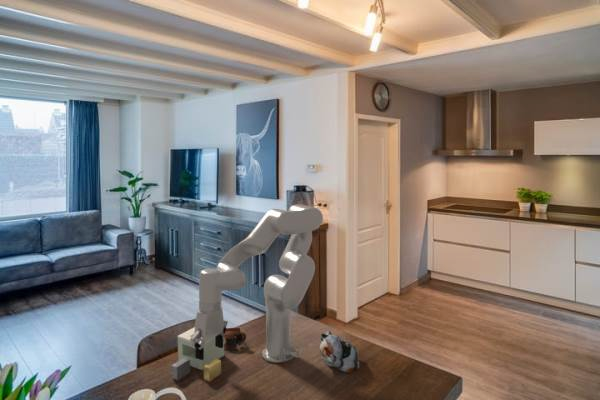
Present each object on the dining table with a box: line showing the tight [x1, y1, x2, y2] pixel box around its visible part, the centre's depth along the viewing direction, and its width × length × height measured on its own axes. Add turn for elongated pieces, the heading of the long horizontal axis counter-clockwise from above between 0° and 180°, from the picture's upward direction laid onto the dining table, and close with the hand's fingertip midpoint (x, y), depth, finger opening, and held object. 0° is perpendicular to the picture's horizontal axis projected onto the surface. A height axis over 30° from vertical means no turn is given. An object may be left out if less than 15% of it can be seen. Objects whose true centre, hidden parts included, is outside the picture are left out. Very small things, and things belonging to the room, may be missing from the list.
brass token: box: [203, 358, 222, 382], centre depth 134 cm, size 2×6×5 cm, turn 150°
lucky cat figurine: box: [319, 330, 360, 374], centre depth 141 cm, size 15×12×14 cm
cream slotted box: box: [177, 326, 225, 371], centre depth 146 cm, size 12×12×10 cm
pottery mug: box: [224, 327, 247, 350], centre depth 157 cm, size 12×10×8 cm
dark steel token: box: [171, 358, 191, 381], centre depth 135 cm, size 2×6×5 cm, turn 150°
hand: (209, 352), depth 133 cm, fingers open, 9 cm apart
